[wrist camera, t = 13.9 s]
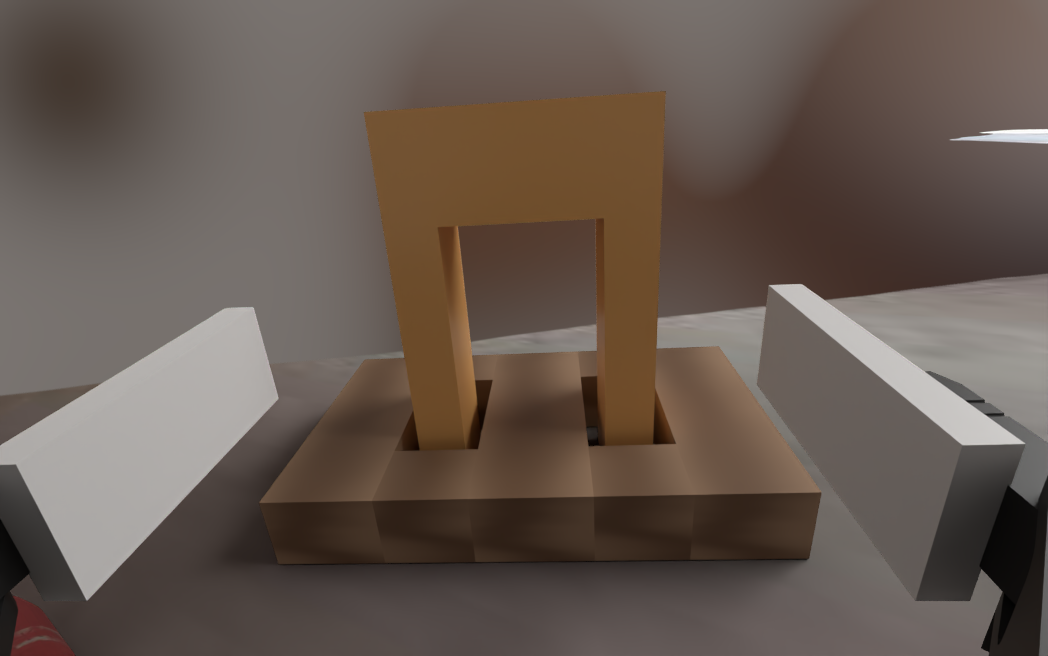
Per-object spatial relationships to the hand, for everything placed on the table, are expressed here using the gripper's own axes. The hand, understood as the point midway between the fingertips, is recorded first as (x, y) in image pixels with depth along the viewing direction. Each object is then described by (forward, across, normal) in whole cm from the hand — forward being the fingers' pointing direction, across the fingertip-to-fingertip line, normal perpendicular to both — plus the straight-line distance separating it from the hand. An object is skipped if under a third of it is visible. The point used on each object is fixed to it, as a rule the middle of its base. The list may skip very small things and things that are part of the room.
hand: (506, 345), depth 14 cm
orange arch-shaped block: (+8, 0, -10) cm, 13 cm away
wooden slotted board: (+9, 0, -10) cm, 13 cm away
